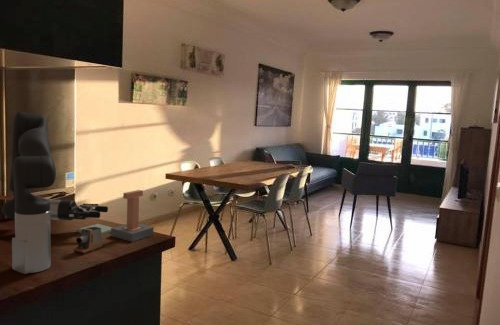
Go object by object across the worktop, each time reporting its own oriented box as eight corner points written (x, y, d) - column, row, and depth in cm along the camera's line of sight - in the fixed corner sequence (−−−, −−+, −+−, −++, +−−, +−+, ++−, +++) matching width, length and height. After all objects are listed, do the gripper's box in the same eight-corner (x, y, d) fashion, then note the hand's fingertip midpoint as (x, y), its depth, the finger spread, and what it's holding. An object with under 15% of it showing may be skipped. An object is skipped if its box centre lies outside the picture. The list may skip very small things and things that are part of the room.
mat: (94, 237, 153) (94, 234, 153) (76, 231, 158) (76, 229, 158) (115, 230, 162) (115, 228, 162) (97, 226, 166) (97, 223, 166)
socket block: (132, 241, 150) (132, 233, 150) (110, 236, 155) (111, 228, 155) (153, 234, 160) (153, 227, 159) (132, 229, 165) (132, 222, 164)
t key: (129, 239, 153) (130, 194, 151) (119, 236, 155) (120, 192, 153) (144, 234, 160) (145, 191, 158) (135, 231, 162) (136, 189, 160)
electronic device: (72, 253, 136) (72, 231, 135) (92, 245, 145) (92, 224, 144) (83, 255, 134) (83, 233, 133) (102, 247, 143) (103, 226, 143)
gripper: (52, 204, 148) (97, 206, 149) (68, 196, 162) (110, 198, 163) (52, 224, 149) (97, 227, 150) (68, 214, 163) (109, 216, 164)
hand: (103, 212), depth 156 cm, fingers open, 8 cm apart
